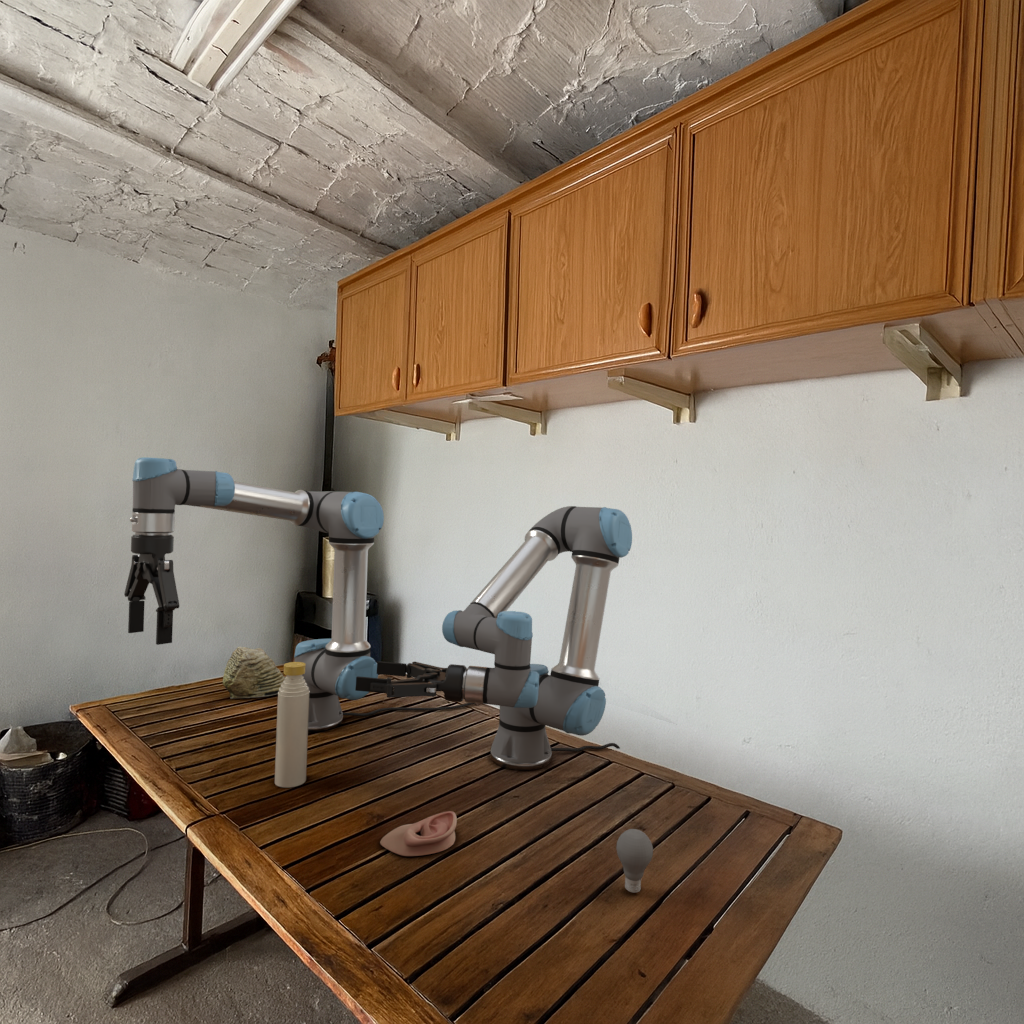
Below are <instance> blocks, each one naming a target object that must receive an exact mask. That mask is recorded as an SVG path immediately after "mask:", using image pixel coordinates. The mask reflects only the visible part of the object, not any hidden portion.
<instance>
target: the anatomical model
mask: <svg viewBox="0 0 1024 1024" xmlns="http://www.w3.org/2000/svg"><path fill="white" fill-rule="evenodd" d="M457 824H458V818H457V814H456V813H455V812H454V811H453V810H447V811H442V812H440V813H436V814H433V815H431V816H428V817H426V818H424V819H422V820H419V821H417V822H414V823H407V824H402V825H400V826H398V827H395V828H394V829H392V830H391V831H388V833H387V834H385V835H384V836H383V837H382V838H381V839H380V841H379V844H380V846H382V848H384V849H386V850H388V851H389V852H391V853H394V854H396V855H398V856H401V857H418V856H426V855H431V854H432V855H433V854H436V853H440V852H443V851H445V850H447V849H450V847H452V846H453V845H454V844H455V842H456V832H455V830H456V828H457Z"/></svg>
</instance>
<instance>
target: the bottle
mask: <svg viewBox="0 0 1024 1024" xmlns="http://www.w3.org/2000/svg"><path fill="white" fill-rule="evenodd" d="M284 677H285V680H284V681H283V684H281V687H280V688H279V692H278V694H277V705H276V728H275V729H276V731H275V755H274V756H275V757H274V784H275V786H276V787H279V788H285V789H287V788H295V787H299V786H301V785H303V784H304V783H306V781H307V769H308V743H309V742H308V740H309V732H308V719H309V693H310V691H309V687H308V686H307V683H305V680H304V677H303V676H302V675H297V676H288V675H285V676H284Z"/></svg>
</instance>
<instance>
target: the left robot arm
mask: <svg viewBox="0 0 1024 1024" xmlns="http://www.w3.org/2000/svg"><path fill="white" fill-rule="evenodd" d="M132 473H133V474H132V511H131V512H132V515H131V517H130V518H129V522H130V523H131V532H133V533H135V534H132V536H131V537H130V538H131V539H130V552H131V553H132V556H131V566H130V569H129V573H128V577H127V581H126V585H125V589H124V592H123V594H124V597H125V598H127V601H128V621H127V622H128V626H127V627H128V628H127V633H128V634H134V633H135V634H136V633H143V632H144V629H145V601H146V595H145V594H146V591H147V590H148V587H149V585H150V584H151V585H152V589H153V592H154V596H155V598H156V602H157V605H158V607H157V608H156V609H155V612H156V630H155V631H156V633H155V645H156V646H158V645H159V646H160V645H166V644H172V643H173V627H174V625H173V623H174V611H175V610H176V609H179V608H180V601H179V595H178V590H177V589H178V588H177V584H176V578H175V572H174V560H173V559H166V555H168V554H172V553H173V552H174V543H175V542H174V541H175V536H174V535H172V533H174V532H175V522H176V521H175V518H176V510H175V509H176V506H190V507H198V508H204V509H210V510H211V509H212V510H218V511H224V512H231V513H238V514H244V515H249V516H256V517H265V518H269V519H277V520H283V521H289V522H290V524H291V525H293V526H296V527H297V526H298V527H304V528H307V529H311V530H315V531H318V532H321V533H325V534H328V545H330V546H331V547H332V548H333V550H334V553H333V554H334V556H333V557H334V559H333V584H332V585H333V587H332V614H331V615H332V616H331V638H318V639H308V640H304V641H300V642H299V643H297V645H296V646H295V650H294V655H293V657H294V662H303V663H305V664H306V668H305V673H304V674H302V676H303V677H304V680H305V683H307V686H308V687H309V691H310V693H309V719H308V733H316V732H325V731H329V730H332V729H335V728H337V727H339V726H340V725H342V723H343V722H344V716H349V717H352V716H353V717H368V716H372V715H374V714H377V713H381V712H387V711H388V712H389V711H416V712H417V711H420V712H421V711H424V712H427V711H428V712H429V711H430V712H431V711H447V710H455V709H461V708H464V707H465V708H466V707H468V706H473V705H475V703H467V702H465V703H461V704H458V705H450V706H439V707H398V706H397V707H395V706H394V707H392V706H391V707H382V708H378V709H375V710H371V711H369V712H363V713H362V712H361V713H359V712H346V711H345V712H343V709H342V706H341V702H340V699H339V698H341V699H342V700H343V699H344V700H348V701H349V700H350V701H357V700H360V699H362V698H364V697H365V696H367V695H368V694H370V692H366V691H355V690H356V677H357V676H359V677H371V678H379V674H377V662H376V660H375V659H374V658H373V657H371V648H372V647H371V644H370V642H368V640H366V621H367V620H366V618H367V590H368V589H367V588H368V557H369V550H370V548H371V547H372V546H374V544H375V536H377V535H378V534H379V533H380V530H382V529H383V525H384V521H385V515H384V510H383V507H382V505H381V503H380V502H379V501H378V500H377V499H376V497H375V496H373V495H371V494H370V493H366V492H361V491H337V490H336V491H335V490H330V491H329V490H328V491H325V490H324V491H315V490H314V491H312V490H304V489H298V490H296V491H294V492H293V491H289V490H284V489H278V488H273V487H267V486H263V485H257V484H252V483H247V482H241V481H237V480H235V479H234V478H233V476H232V475H231V474H230V473H228V472H223V471H218V470H194V469H193V470H192V469H181V468H178V466H177V462H176V460H175V459H173V458H161V457H148V456H147V457H144V456H143V457H138V458H137V459H135V461H134V466H133V472H132Z"/></svg>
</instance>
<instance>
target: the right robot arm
mask: <svg viewBox="0 0 1024 1024" xmlns="http://www.w3.org/2000/svg"><path fill="white" fill-rule="evenodd" d="M632 544H633V530H632V526H631V523H630V519H629V518H628V516H627V514H626V513H625V512H623V511H622V510H621V509H618V508H611V507H606V506H604V507H601V506H599V507H595V506H592V507H591V506H575V505H568V506H563V507H560V508H557V509H555V510H554V511H551V512H550V513H548V514H547V515H545V516H543V517H542V518H541V519H539V520H538V521H537V522H536V523H534V525H532V527H531V528H530V529H529V530H528V531H527V532H526V534H525V535H524V541H523V543H522V544H521V545H520V546H519V547H518V548H517V550H515V552H514V553H513V554H512V555H511V557H510V558H509V559H508V560H507V561H506V562H505V563H504V564H503V565H502V567H501V568H500V569H499V570H498V571H497V572H496V573H495V575H494V576H493V577H492V578H491V579H490V580H489V581H488V583H487V584H486V585H485V586H484V587H483V588H482V590H480V592H479V593H478V594H477V595H476V596H475V597H474V598H473V600H472V601H471V602H470V603H469V604H468V605H467V606H466V608H465V609H464V610H461V609H460V610H451V611H450V612H448V614H446V615H445V617H444V619H443V621H442V627H441V631H442V636H443V638H444V639H445V641H446V642H448V643H450V644H452V645H455V646H457V647H460V648H467V649H471V650H476V651H480V652H483V653H487V654H492V655H494V663H493V665H494V667H489V666H480V665H469V666H468V667H467V666H466V665H464V664H452V663H450V664H448V666H447V667H440V666H436V665H431V664H427V663H424V662H423V663H422V662H419V661H412V662H409V663H401V662H391V661H382V660H381V661H380V660H378V661H377V662H376V663H377V674H378V675H382V676H383V675H384V676H394V677H406V678H405V679H395V680H392V678H391V677H386V678H380V677H378V678H371V677H359V676H357V677H356V690H355V691H366V692H369V693H378V694H385V695H386V698H389V699H390V698H391V699H392V698H410V697H411V698H412V697H432V698H434V697H436V696H437V692H443V697H444V698H443V699H445V701H447V702H456V703H462V702H463V701H464V702H465V703H475V704H474V705H475V706H476V707H479V706H480V705H492V706H498V707H499V717H498V718H499V719H498V727H497V730H496V733H495V736H494V739H493V741H492V744H491V746H490V756H489V757H490V760H491V762H493V763H494V764H495V765H497V766H500V767H502V768H504V769H508V770H514V771H534V770H539V769H542V768H545V767H547V766H549V765H550V763H551V762H552V753H553V752H569V753H576V752H581V751H584V750H596V751H597V750H599V751H600V750H605V749H608V748H610V747H614V748H615V749H618V750H619V749H621V747H620V746H619V744H617V743H615V742H609V743H607V744H603V745H599V746H598V745H583V746H580V747H576V748H575V747H574V748H573V747H572V748H571V747H551V745H550V741H549V736H548V734H547V733H548V732H547V729H546V726H547V727H550V728H552V729H556V730H558V731H559V730H560V731H563V732H565V733H566V734H569V735H570V734H573V735H576V736H579V737H580V736H582V737H583V736H588V735H590V733H592V732H593V731H595V729H596V728H597V727H598V726H599V724H600V722H601V720H602V719H603V716H604V713H605V709H606V705H607V698H606V693H605V691H604V689H602V687H600V686H599V685H600V677H599V675H598V673H597V672H596V664H597V657H598V652H599V645H600V639H601V634H602V627H603V621H604V616H605V609H606V603H607V597H608V591H609V587H610V580H611V574H612V571H613V570H615V569H616V568H617V567H619V563H620V559H621V558H624V557H626V556H628V555H629V552H630V551H631V549H632ZM566 552H567V553H568V552H569V553H571V556H570V557H571V559H572V561H573V562H574V564H575V569H574V574H573V579H572V580H573V581H572V587H571V591H570V598H569V604H568V608H567V609H568V610H567V615H566V619H565V620H566V621H565V626H564V631H563V638H562V643H561V650H560V654H559V655H560V656H559V661H558V663H557V664H556V665H554V666H553V667H552V668H551V669H550V670H549V668H548V666H547V665H545V664H541V663H531V660H532V659H531V658H532V644H533V643H532V642H533V636H534V634H533V617H532V616H531V614H529V613H527V612H523V611H516V610H509V609H510V608H511V606H512V605H513V604H514V603H515V602H516V600H517V599H518V598H519V597H520V596H521V594H522V593H523V592H524V591H525V590H526V588H527V587H528V586H529V585H530V583H531V582H532V581H533V580H534V579H535V577H536V576H537V575H538V574H539V572H540V571H541V570H542V569H543V567H544V566H545V565H546V564H547V563H548V562H551V561H554V560H555V559H557V557H558V556H559V555H560V554H562V553H566ZM549 672H550V674H549Z"/></svg>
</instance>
